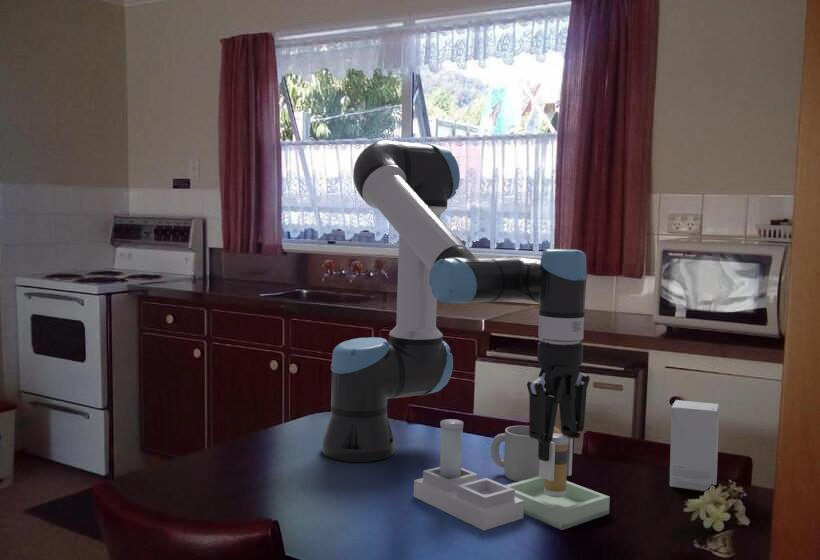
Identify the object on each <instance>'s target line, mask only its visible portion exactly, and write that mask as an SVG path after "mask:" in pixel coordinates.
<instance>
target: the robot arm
mask: <svg viewBox="0 0 820 560" xmlns="http://www.w3.org/2000/svg"><path fill="white" fill-rule="evenodd" d="M352 172H353V175H352V176H353V184H354V185H355V188H356V191H357V193H358V195H359V196H360V197H361V198H362V199H363V201H364V202H365V203H366V205H367V206H369V207H371V208H374V209H377V210H378V211H379V212H380V213H381V214H382V215H383V217H384V218H385V219H386V220H387V221H388V223H389V224H390V226H391V227H393V229H394V230H395V232H397V233H398V258H397V259H398V262H397V265H398V266H397V291H396V292H397V294H396V295H397V296H396V325H395V327H393V328H392V329H391V330H390V331H389V333H388V340H387V339H386V338H383V337H378V336H377V337H376V336H375V337H374V336H373V337H371V336H370V337H357V338H352V339H349V340H345V341H342V342H340V343H339V344H337V345H336V346H335V347H334V349H333V351H332V355H331V364H330V370H331V389H330V390H331V393H330V394H331V395H330V396H331V397H330V399H331V400H330V408H331V409H330V418H329V421H328V424H327V426H326V430H325V433H324V436H323V438H322V440H321V444H322V445H321V453H322V454H323V455H324V456H326V457H327V458H330V459H333V460H336V461H342V462H347V463H349V462H351V463H368V462H375V461H376V462H377V461H381V460H384V459H385V460H386V459H387V458H389V457H391V456H393V455H394V453H395V438H394V435H393V432H392V427H391V425H390V424H391V423H390V422H389V418H388V400H390V399H398V398H406V397H414V396H420V397H421V396H427V395H429V394H433V393H437V392H440V391H441V390H443V388H444V387H446V385H447V384H448V383H449V381H450V379H451V376H452V374H453V369H454V367H453V366H454V359H453V357H454V356H453V354H452V352H451V347H450V346H449V344H448V343H447V342H446V341H444V340H443V336H444V335H443V333H442V332H441V331H440V329H438V327H437V309H438V308H437V306H438V304H437V303H438V301H439V302H440V303H443V304H455V305H463V304H471V303H483V302H486V303H487V302H488V303H489V302H506V301H508V302H509V301H529V302H535V303H539V309H538V310H539V311H538V333H537V337H538V338H539V339H540V340H539V342H537V361H538V363H539V364H540V367H541V368H540V371H539V373H538V378H537V379H536V380H534V381H532V380H528V381H527V383H526V387H527V390H528V394H529V418H528V419H529V425H528V426H529V435H530V437H531V438H534V439H537V440H538V442H539V446H538V458H539V460H540V463H539V477H541V478H544V479H547V480H549V481H553V480H554V467H555V442H552V437H553V431H554V427H555V424H556V418H557V413H558V410H559V417H560V427H561V428H560V432H561V433H562V434H564V435H567V436H568V437H569V438H568V462H567V477H569V476H572V473H573V472H572V471H573V470H572V469H573V454H574V451H575V438H576V439H579V438H580V436H581V432H583V431H584V430H585V429H584V428H585V420H586V419H585V416H586V402H587V391H588V390H587V389H588V386H589V382H590V377H591V376H590V375H588V374H583V373H581V372H580V369H579V366H581V365H582V364H583V361H584V360H583V359H584V344H583V343H582V342H581V341H583V340H584V328H585V327H584V326H585V324H584V323H585V314H586V313H585V307H586V288H587V279H588V273H587V254H586V253H585V252H584V251H583V250H579V249H566V248H547V249H544V250H543V251H542V252H541V258H540V259H538V258H528V257H521V256H511V255H509V256H502V257H492V258H491V257H486V258H485V257H483V258H482V257H479V258H478V257H476V256H475V255H474V254H473V253H472V252H471V251H470V250H469V249H468V248H467V247H466V246H465V244H464V243H463V242H462V241H461V240H460V238H458V237H457V236H456V234H454V233H453V231H451V229H450V228H449V227H448V226H447V224H445V223H444V221H443V220H442V219H441V215H442V214H443V213H445V211H446V210H447V209H448V201H449V200H451V199H452V198H453V197H455V196H456V194H457V190H459V186H460V181H461V179H460V178H461V176H460V175H461V174H460V168H459V164H458V161H457V158H456V157H455V156H454V155H453V153H452V151H451V150H450V149H448V148H447V147H444V146H442V145H437V144H433V143H423V142H422V143H419V142H409V141H408V142H406V141H405V142H404V141H394V140H388V139H387V140H380V141H376V142H373V143H371V144H370V145H368V146H367V147H365V148H364V149H363V150H362V151H361V153H359V155H358V156H357V158H356V161H355V163H354V167H353V171H352ZM579 432H580V433H579ZM545 433H546V434H545Z"/></svg>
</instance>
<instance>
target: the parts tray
mask: <svg viewBox="0 0 820 560" xmlns="http://www.w3.org/2000/svg"><path fill="white" fill-rule="evenodd" d="M504 485H505V486H508V487H510V488H513V489H515V497H517V498H519V499H521V500H524V513H523V515H525V516H529V517H530V518H533V519H535V520H537V521H539V522H542V523H544V524H547V525H549V526H551V527H553V528H556V529H558V530H560V531H564V530H565V529H569V528H572V527H575V526H578V525H581V524H584V523H587V522H590V521H592V520H595V519H598V518H602V517H604V516H607V515H609V514H610V503H611V502H610V501H611V500H610V499H611V497H610V496H609V495H606V494H604V493H600V492H598V491H595V490H592V489H590V488H588V487H584V486H581V485H579V484H576V483H574V482H571V481H568V480H566V496H564V497H550V496H547V495H545V494H544V478H541V477H539V476H537V477H534V478H530V479H526V480H523V481H515V482H512V483H509V484H504Z"/></svg>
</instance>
